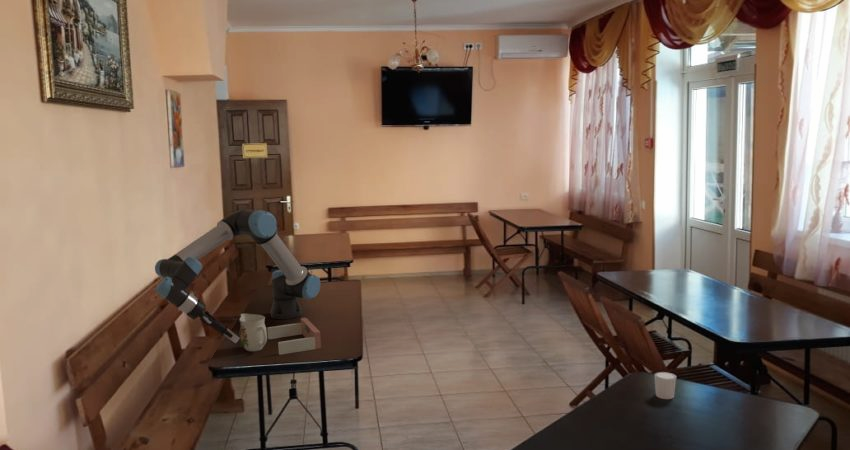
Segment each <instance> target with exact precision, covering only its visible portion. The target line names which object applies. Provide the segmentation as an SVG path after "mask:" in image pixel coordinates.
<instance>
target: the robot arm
mask: <svg viewBox="0 0 850 450" xmlns="http://www.w3.org/2000/svg"><path fill="white" fill-rule="evenodd" d="M241 236H246V237H249V238H250V239H251V240H252V241H253V242H254V244H255V245H257V246H261V247H262V248H263V250H264V251H265V253H267V254H268V256H269V258H270V259H271V260H272V261H273V262H274V263H275V265H276V267H277V268H278V269H277V270H275V271H273V272H272V273H271V284H272V296H273V302H272V305H271V308H270V317H271V318H272V319H275V320H291V319H296V318H298V317H301V316H302V314H303V311H302V306H301V304H300V302H299V299H304V300H311V299H312V300H313V299H315V297H316V296H317V295H318V294H319V292H320V290H321V280H320V278H319V276H317V275H315V274H311V272H310V270H308V268H306V267H305V266H303V265H302V266H301V264H300V263H299V262H298V261H297V259H296V258H295V256H294V255H293V254H292V252H291V251H290V250H289V248H288V247H287V246H286V244H285V243H284V241H283V240H282V238H280V237H279V236H280V235H278V226H277V220H276V217H275V216H274V214H272V213H271V212H270V211H265V210H260V209H259V210H258V209H257V210H256V209H255V210H254V209H240V210H236V211H233V212H232V213H230V214H228V215H227V216H225V217H224V218H222V219H221V220H220V221H218V222H217V223H216V226H214V227H213V228H212V229H210V230H208V231H207V232H205V234H203V235H201V236H200V237H198V238H197V239H195V240H194V241H192V242H191V243H190V244H188V245H186V246H185V247H183V248H182V249H181V250H179V251H178V252H176V253H175V254H173V255H172V256H170V257H169V258H164V259H163V258H162V259H160V260H158V261H157V262H156V264H155V265H154V271H155V273H156V275H158V277H161V278H162V279H161V280H160V281H159V282H158V284H157V286H156V287H155V292H156V293H157V294H158V295H159V296H160V297H162V298H163V299H164V300H166V301H167V302H169V304H171V305H172V306H174V307H175V308H177V309H178V312H182V313H183V314H186V316H187V317H188V318H190V319H191V320H196V319H197V318H199V320H200V321H201V322H203V323H205V325H208V326H209V327H210V328H212V329H213V330H215V331H217V332H218V333H220V334H221V336H222V337H223V336H224V337H226V338H227V339H229V340H230V341H232V342H233V343H234V344H237V343H238V341H240V340H241V339H240V336H238V335H237V334H236V333H235V332H233V331H232V330H230V329H229V326H228V325H226V326H225V325H224V324H223V323H222V322H221V321H219V320H218V319H217V318H215V316H213V315H212V314H211V313H210V311H208V310H205V309H206V304H205V303H204V302H203V301H202V300H200V299H198V298H197V297H196V296H195V295H193V294H192V293H191V292H189V291H188V288H189V286H190V285H191V284H192V283H193V282H194V280H195V279H196V278H197V276H199V273H200V272H201V271H202V269H203V265H202V263H201V262H200V261H199V260H200V259H202V258H203V257H204V256H206V255H207V254H208V253H211V252H212V251H213V250H215V249H216V248H217V247H218V246H220V245H222V244H223V243H224V242H226V241H227V240H228V241H231V240H233V239H234V238H236V237H241ZM298 298H299V299H298Z"/></svg>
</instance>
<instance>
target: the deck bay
mask: <svg viewBox="0 0 850 450" xmlns="http://www.w3.org/2000/svg"><path fill="white" fill-rule="evenodd" d="M266 330H267V340H272V339H273V340H274V339H280V338H286V337H292V336H293V337H294V336H298V335H302V336H303V337H304V338H302V337H301V338H296V339H290V340H285V341H284V340H283V341H278V342H277V345H278V346H277V347H278V355H287V354H292V353H293V354H294V353H298V352H305V351H311V350H317V349H322V340H321V331H320V330H319V328H317V327H316V326H315V325H314V324H313V323H312V322H311V321H310V320H309V319H308V318H307V317H302V318H300V322H297V323H289V324H282V325H277V326H276V325H275V326H269V327H266Z"/></svg>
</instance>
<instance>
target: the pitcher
mask: <svg viewBox="0 0 850 450" xmlns="http://www.w3.org/2000/svg"><path fill="white" fill-rule="evenodd" d="M265 319H266V316H264V315H262V314H254V313H253V314H252V313H241V314H240V317H239V323H240V327H239V337H240V339H239V340H240V343H241V344H242V347H243V348H244V349H245V350H246V352H247V351H248V352H258V351H261V350H262V349H263V347H264V346H265V345H266V344H267V340H268V331H267V327H266V323H265V321H266V320H265Z"/></svg>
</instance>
